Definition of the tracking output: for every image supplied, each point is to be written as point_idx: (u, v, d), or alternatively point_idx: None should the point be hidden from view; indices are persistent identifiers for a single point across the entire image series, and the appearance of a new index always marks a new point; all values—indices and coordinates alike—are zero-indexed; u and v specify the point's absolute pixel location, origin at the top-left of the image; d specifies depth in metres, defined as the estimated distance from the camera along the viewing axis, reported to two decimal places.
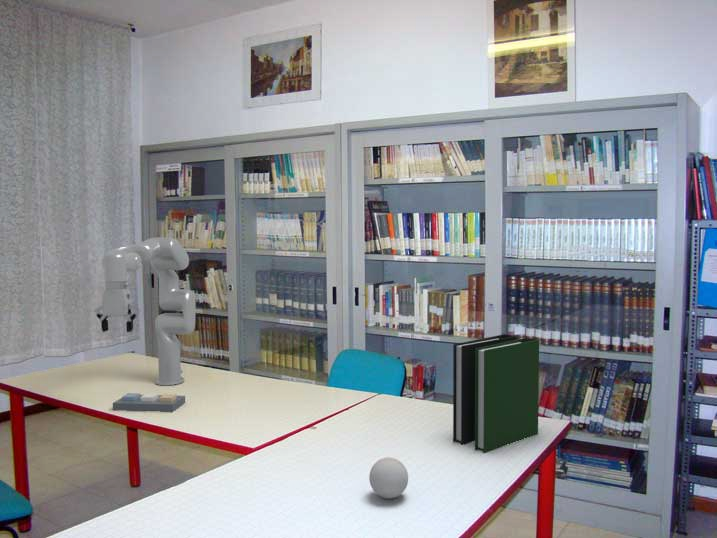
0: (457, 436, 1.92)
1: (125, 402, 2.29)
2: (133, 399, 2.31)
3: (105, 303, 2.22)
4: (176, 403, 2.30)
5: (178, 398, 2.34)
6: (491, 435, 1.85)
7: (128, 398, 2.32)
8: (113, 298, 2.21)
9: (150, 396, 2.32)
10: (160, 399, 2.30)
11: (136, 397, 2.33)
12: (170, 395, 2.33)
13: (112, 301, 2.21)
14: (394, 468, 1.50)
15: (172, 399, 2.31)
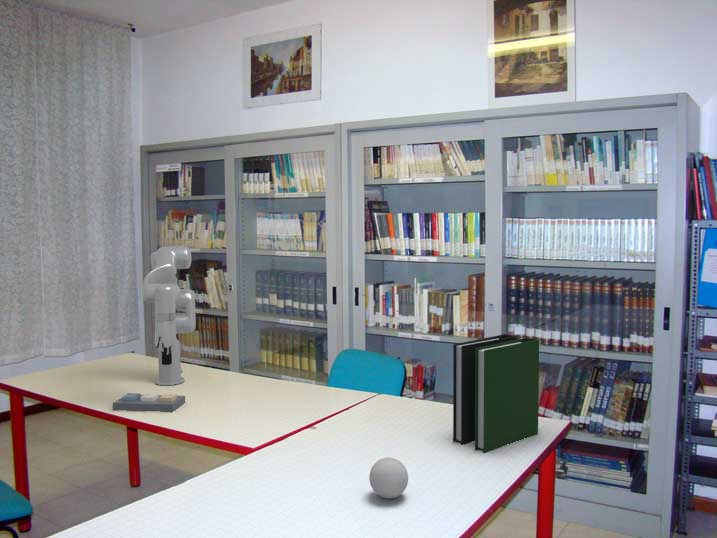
0: (457, 436, 1.92)
1: (125, 402, 2.29)
2: (133, 399, 2.31)
3: (168, 335, 2.28)
4: (176, 403, 2.30)
5: (178, 398, 2.34)
6: (491, 435, 1.85)
7: (128, 398, 2.32)
8: (172, 328, 2.31)
9: (150, 396, 2.32)
10: (160, 399, 2.30)
11: (136, 397, 2.33)
12: (170, 395, 2.33)
13: (171, 332, 2.30)
14: (394, 468, 1.50)
15: (172, 399, 2.31)
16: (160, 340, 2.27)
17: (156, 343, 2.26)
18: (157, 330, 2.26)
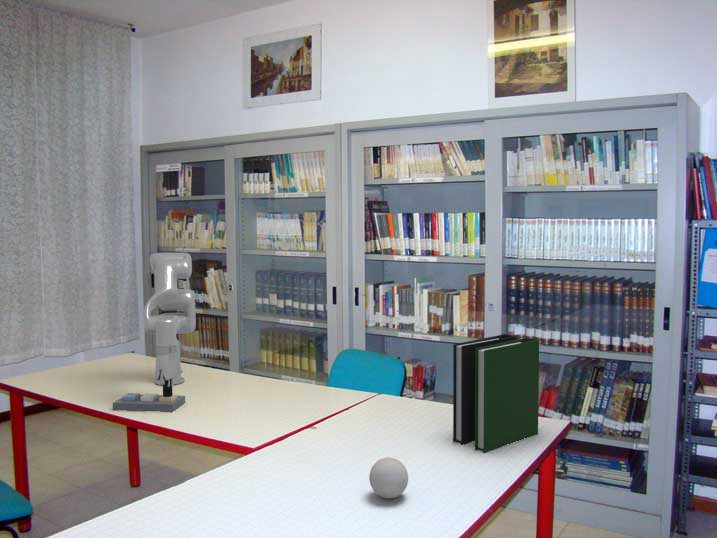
0: (457, 436, 1.92)
1: (125, 402, 2.29)
2: (133, 399, 2.31)
3: (169, 367, 2.28)
4: (176, 403, 2.30)
5: (178, 398, 2.34)
6: (491, 435, 1.85)
7: (128, 398, 2.32)
8: (173, 361, 2.31)
9: (150, 396, 2.32)
10: (160, 399, 2.30)
11: (136, 397, 2.33)
12: None
13: (172, 364, 2.31)
14: (394, 468, 1.50)
15: (172, 399, 2.31)
16: (161, 373, 2.27)
17: (157, 376, 2.27)
18: (158, 363, 2.27)
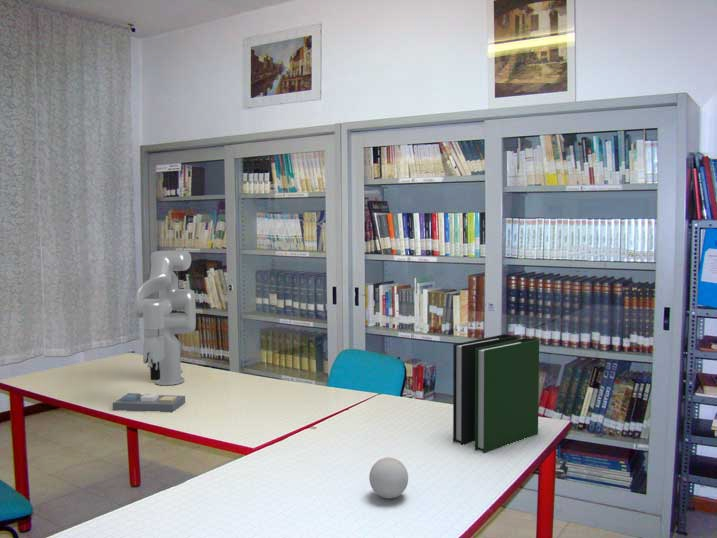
0: (457, 436, 1.92)
1: (125, 402, 2.29)
2: (133, 399, 2.31)
3: (156, 350, 2.29)
4: (176, 403, 2.30)
5: (178, 398, 2.34)
6: (491, 435, 1.85)
7: (128, 398, 2.32)
8: (160, 344, 2.32)
9: (150, 396, 2.32)
10: (160, 401, 2.30)
11: (136, 397, 2.33)
12: (170, 397, 2.33)
13: (160, 347, 2.31)
14: (394, 468, 1.50)
15: (172, 401, 2.31)
16: (149, 356, 2.28)
17: (145, 359, 2.27)
18: (146, 346, 2.27)
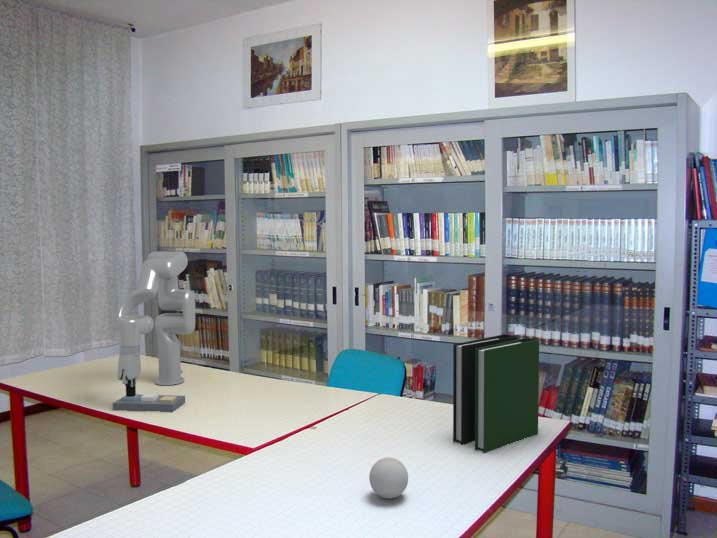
0: (457, 436, 1.92)
1: (125, 402, 2.29)
2: (133, 400, 2.31)
3: (131, 367, 2.30)
4: (176, 403, 2.30)
5: (178, 398, 2.34)
6: (491, 435, 1.85)
7: (128, 399, 2.32)
8: (136, 360, 2.33)
9: (150, 396, 2.32)
10: (160, 401, 2.30)
11: (136, 398, 2.33)
12: (170, 397, 2.33)
13: (135, 364, 2.32)
14: (394, 468, 1.50)
15: (172, 401, 2.31)
16: (123, 373, 2.29)
17: (119, 376, 2.28)
18: (120, 363, 2.28)
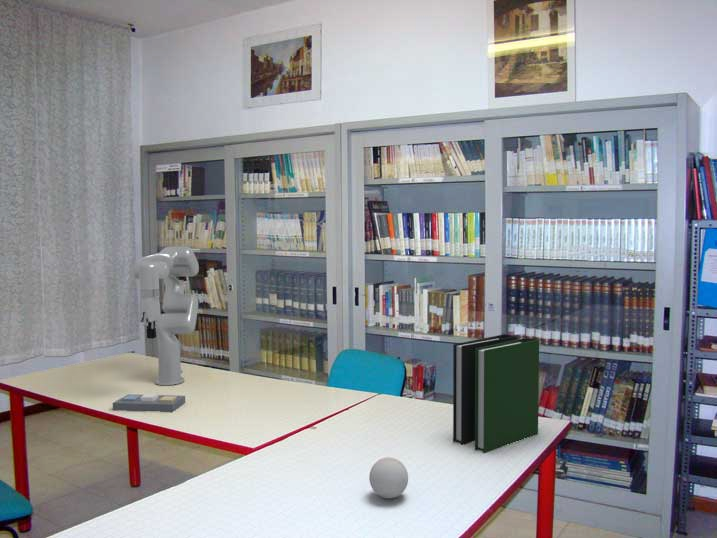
0: (457, 436, 1.92)
1: (125, 402, 2.29)
2: None
3: (152, 310, 2.39)
4: (176, 403, 2.30)
5: (178, 398, 2.34)
6: (491, 435, 1.85)
7: (128, 400, 2.32)
8: (156, 304, 2.42)
9: (150, 396, 2.32)
10: (160, 401, 2.30)
11: (136, 399, 2.33)
12: (170, 397, 2.33)
13: (155, 307, 2.41)
14: (394, 468, 1.50)
15: (172, 401, 2.31)
16: (144, 315, 2.38)
17: (140, 318, 2.38)
18: (141, 305, 2.37)
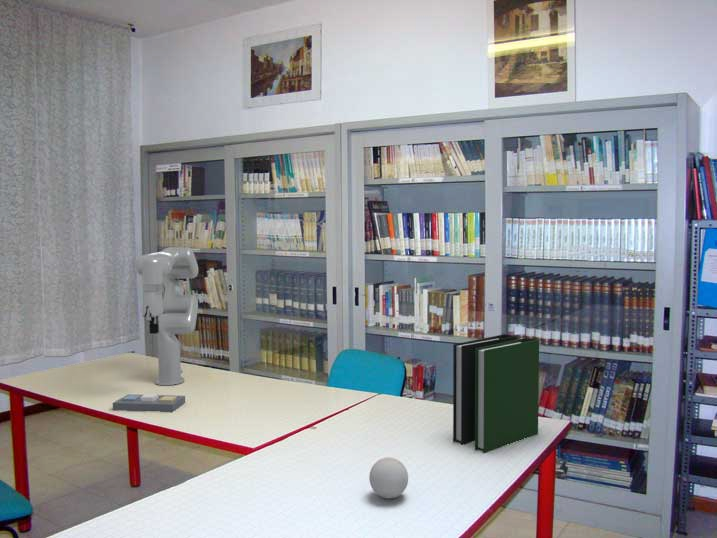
0: (457, 436, 1.92)
1: (125, 402, 2.29)
2: None
3: (155, 304, 2.40)
4: (176, 403, 2.30)
5: (178, 398, 2.34)
6: (491, 435, 1.85)
7: (128, 400, 2.32)
8: (159, 299, 2.43)
9: (150, 396, 2.32)
10: (160, 401, 2.30)
11: (136, 399, 2.33)
12: (170, 397, 2.33)
13: (158, 302, 2.43)
14: (394, 468, 1.50)
15: (172, 401, 2.31)
16: (147, 310, 2.39)
17: (144, 312, 2.39)
18: (144, 300, 2.38)
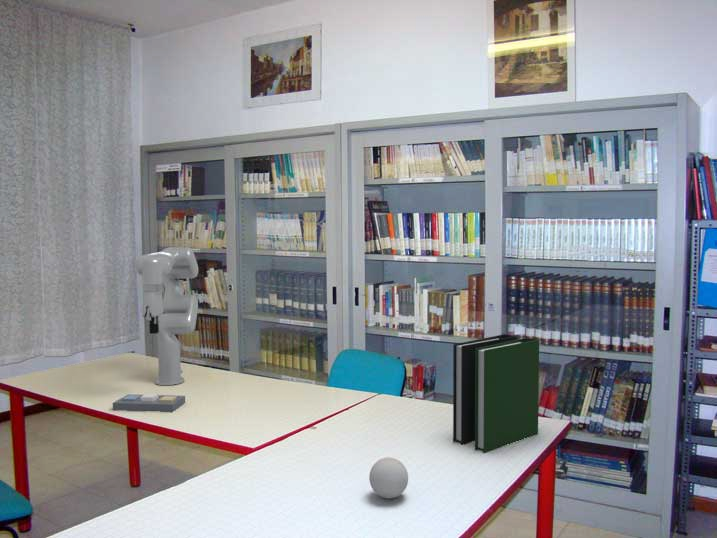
0: (457, 436, 1.92)
1: (125, 402, 2.29)
2: None
3: (155, 304, 2.40)
4: (176, 403, 2.30)
5: (178, 398, 2.34)
6: (491, 435, 1.85)
7: (128, 400, 2.32)
8: (159, 299, 2.43)
9: (150, 396, 2.32)
10: (160, 401, 2.30)
11: (136, 399, 2.33)
12: (170, 397, 2.33)
13: (158, 302, 2.43)
14: (394, 468, 1.50)
15: (172, 401, 2.31)
16: (147, 310, 2.39)
17: (144, 312, 2.39)
18: (144, 300, 2.38)
